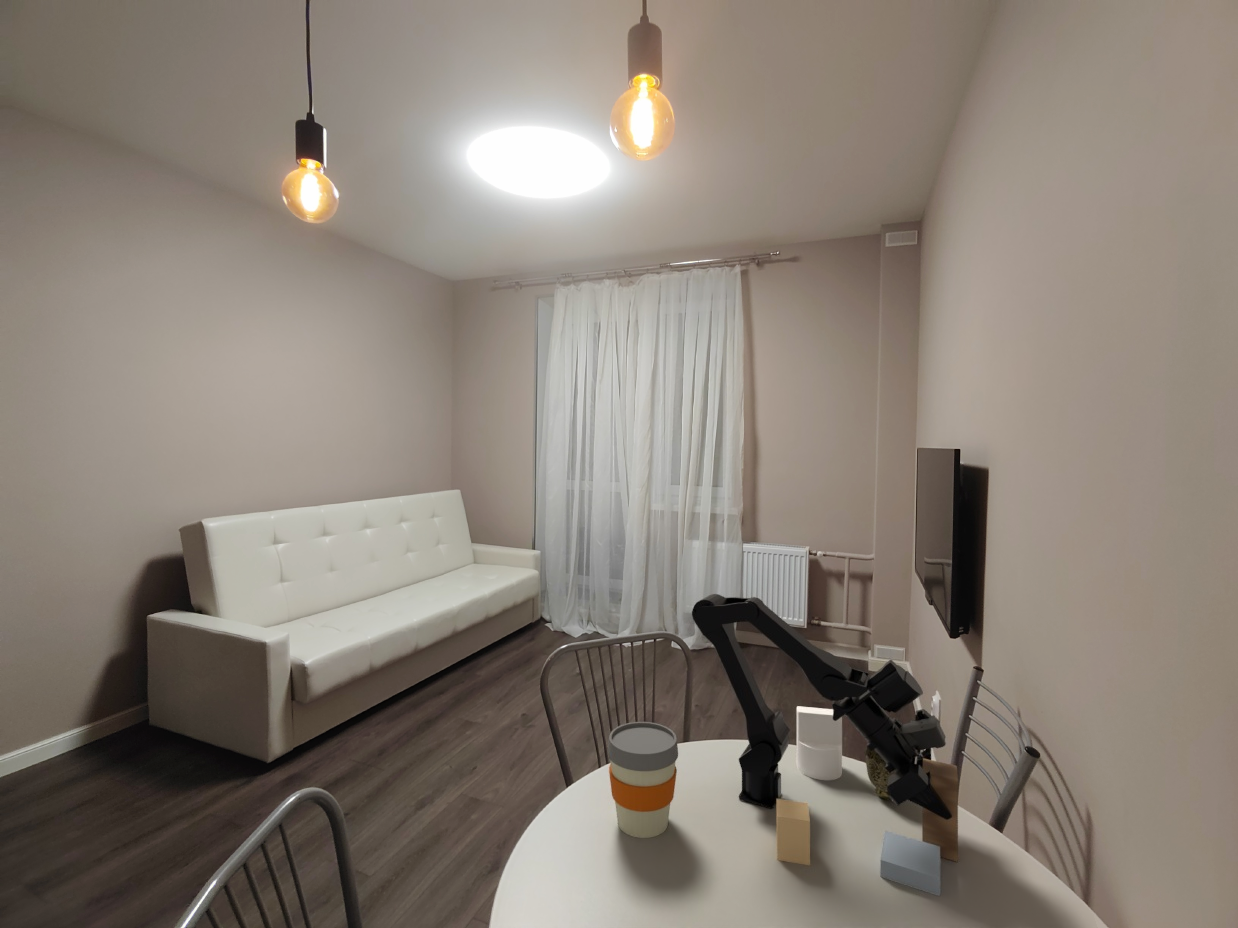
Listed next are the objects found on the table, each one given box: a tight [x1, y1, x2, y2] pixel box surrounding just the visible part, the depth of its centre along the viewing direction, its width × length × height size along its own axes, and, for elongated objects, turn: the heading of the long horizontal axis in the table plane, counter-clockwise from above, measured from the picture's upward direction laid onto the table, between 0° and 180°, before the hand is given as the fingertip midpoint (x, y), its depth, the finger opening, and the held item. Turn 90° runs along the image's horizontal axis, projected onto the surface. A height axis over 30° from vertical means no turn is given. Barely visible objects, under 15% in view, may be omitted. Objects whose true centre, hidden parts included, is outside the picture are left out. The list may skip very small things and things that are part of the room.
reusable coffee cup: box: [607, 721, 679, 839], centre depth 101 cm, size 12×13×15 cm
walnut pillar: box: [921, 758, 959, 863], centre depth 94 cm, size 5×5×13 cm
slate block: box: [879, 830, 941, 897], centre depth 89 cm, size 8×8×3 cm
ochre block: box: [776, 798, 811, 866], centre depth 93 cm, size 5×5×7 cm
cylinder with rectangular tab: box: [796, 705, 843, 781], centre depth 118 cm, size 9×9×12 cm
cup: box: [864, 746, 897, 801], centre depth 109 cm, size 8×7×8 cm
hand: (949, 809), depth 93 cm, fingers closed on walnut pillar, 5 cm apart
